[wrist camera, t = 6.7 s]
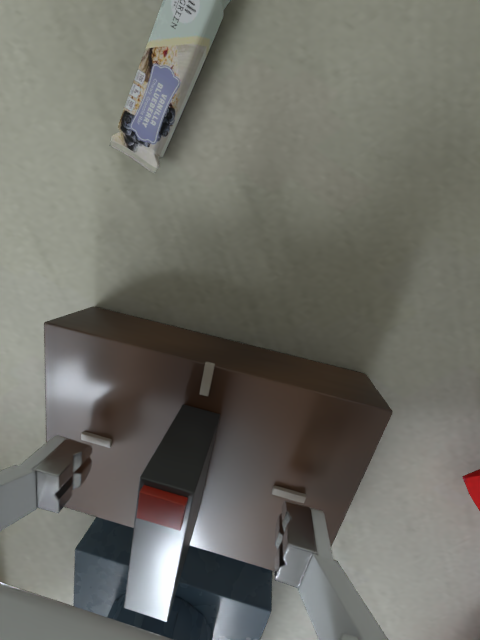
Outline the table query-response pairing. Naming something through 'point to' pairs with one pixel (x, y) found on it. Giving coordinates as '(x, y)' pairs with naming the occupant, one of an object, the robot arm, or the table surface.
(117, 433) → the panel
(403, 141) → the table surface
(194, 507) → the handle
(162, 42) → the granola bar
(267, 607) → the button box
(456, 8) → the table surface
